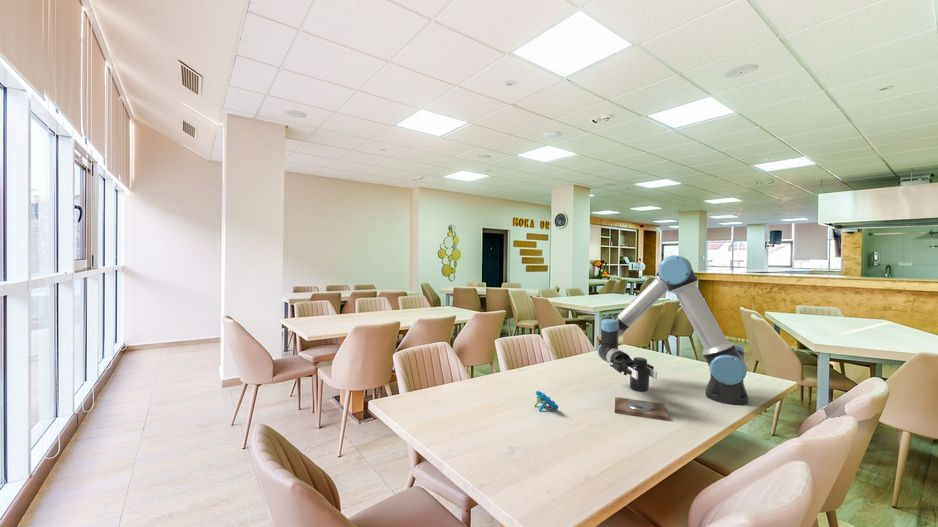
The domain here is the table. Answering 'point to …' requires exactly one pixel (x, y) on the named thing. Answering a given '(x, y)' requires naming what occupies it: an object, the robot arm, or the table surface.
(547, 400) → the gear
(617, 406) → the walnut board
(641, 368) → the supplement bottle
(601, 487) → the table surface
